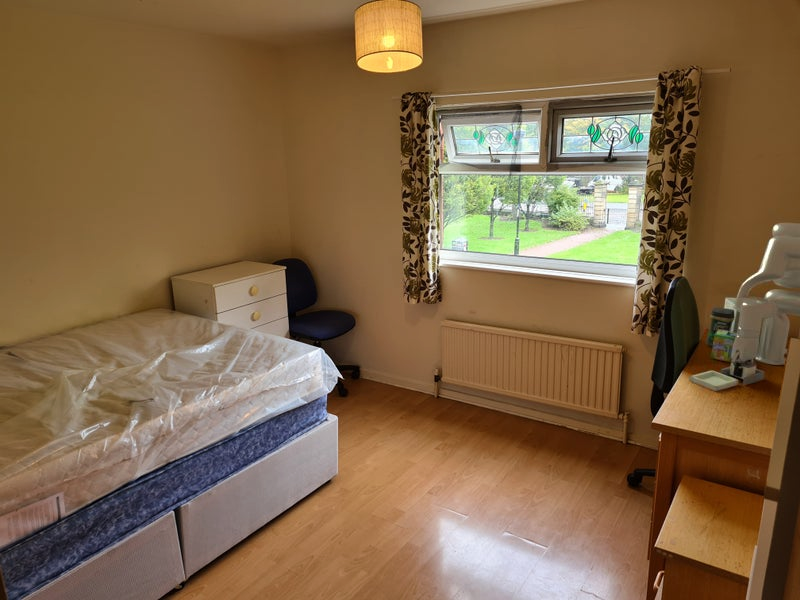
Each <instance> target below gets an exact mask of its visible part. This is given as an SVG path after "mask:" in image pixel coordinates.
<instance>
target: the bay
mask: <svg viewBox="0 0 800 600" xmlns="http://www.w3.org/2000/svg"><path fill="white" fill-rule="evenodd" d="M730 368H731V366H728V367H724V368H721V369H720V373H721V374H724V375H726V376H731V375H730ZM765 375H766V373H765V371H763V370H761V369H758V368H756V371H755V374H754V375H750V376H747V377H744V379H742V380H743V381H742V385H743V386H746V385H751V384H753V383H756V382H759V381H764V379H765Z"/></svg>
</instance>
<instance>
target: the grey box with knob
mask: <svg viewBox="0 0 800 600" xmlns="http://www.w3.org/2000/svg"><path fill="white" fill-rule="evenodd" d="M739 360H741V359H740V358H739ZM738 362H739V364H740V363H741V362H740V361H738ZM730 367H731V368H730V375H729V376H734V377H736V378H739V379H741V380H744V377H747V376H750V375H754V374H755V371H756V369H757V363H755V362H753V363H752V362H749V361H744V363H743V366H742V368H743V373H742V377H737V376H735V375H733V373H734V364H733V363H732V361H731V362H730Z"/></svg>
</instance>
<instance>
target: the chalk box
mask: <svg viewBox="0 0 800 600" xmlns="http://www.w3.org/2000/svg"><path fill="white" fill-rule="evenodd" d="M731 327H732V326H731ZM730 329H731V328H730ZM730 329H729V331H726V330H720V329H718V330H717V332H716V333H715V335H714V341H713V347H712V349H711V356H710V359H712V360H713V359H714V360H719V361H723V362H727V363H731V361H732V359H733V358H731V354H732V349H733V345H734V341H735V338H736V336H737V332H731V331H730Z"/></svg>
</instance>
